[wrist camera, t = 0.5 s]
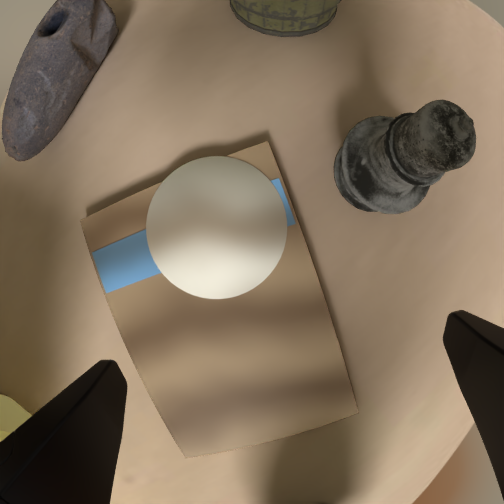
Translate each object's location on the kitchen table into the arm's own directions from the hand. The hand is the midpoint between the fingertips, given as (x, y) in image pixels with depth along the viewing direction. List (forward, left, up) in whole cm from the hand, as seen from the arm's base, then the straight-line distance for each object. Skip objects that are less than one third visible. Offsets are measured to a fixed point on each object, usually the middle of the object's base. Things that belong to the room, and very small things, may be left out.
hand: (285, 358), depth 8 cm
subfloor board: (-2, +4, -13) cm, 14 cm away
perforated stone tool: (+20, +10, -14) cm, 26 cm away
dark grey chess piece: (+4, -9, -14) cm, 17 cm away
